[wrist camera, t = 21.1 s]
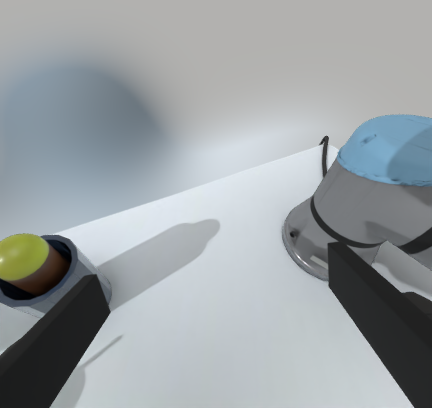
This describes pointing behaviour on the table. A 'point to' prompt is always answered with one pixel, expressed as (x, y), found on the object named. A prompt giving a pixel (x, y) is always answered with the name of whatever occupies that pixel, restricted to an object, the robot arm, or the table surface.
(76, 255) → the tube
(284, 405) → the table surface
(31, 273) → the peg
